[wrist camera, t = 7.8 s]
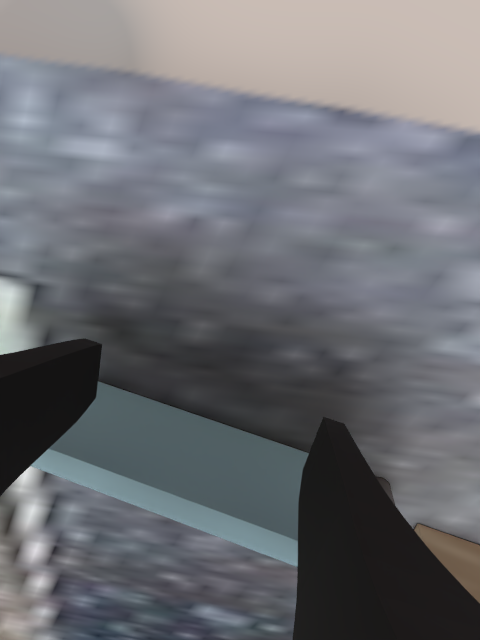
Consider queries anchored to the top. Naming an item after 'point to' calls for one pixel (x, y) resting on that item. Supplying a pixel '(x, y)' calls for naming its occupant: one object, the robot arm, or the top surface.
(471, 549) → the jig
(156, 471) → the bar
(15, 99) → the top surface
